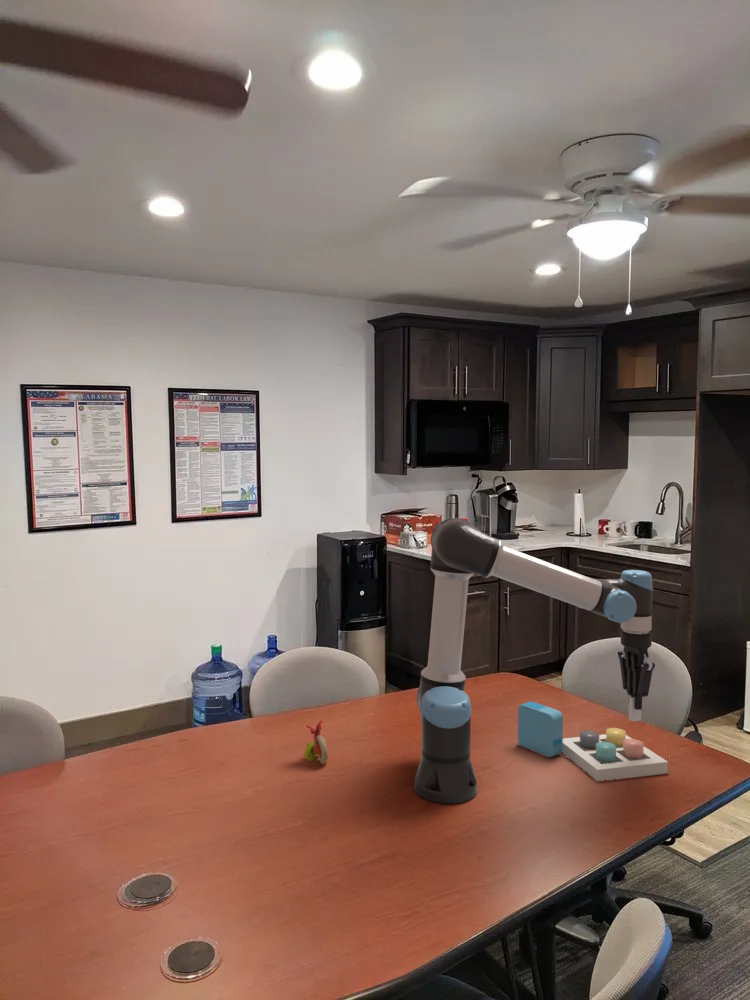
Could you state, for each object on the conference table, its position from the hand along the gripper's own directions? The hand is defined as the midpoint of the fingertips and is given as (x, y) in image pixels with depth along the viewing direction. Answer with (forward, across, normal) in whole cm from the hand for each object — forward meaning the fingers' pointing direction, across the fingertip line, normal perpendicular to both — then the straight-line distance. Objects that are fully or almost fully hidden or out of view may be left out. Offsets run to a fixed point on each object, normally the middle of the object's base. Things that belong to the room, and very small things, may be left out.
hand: (634, 720), depth 184 cm
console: (+12, +4, +4) cm, 13 cm away
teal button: (+9, 0, +8) cm, 12 cm away
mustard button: (+9, +8, 0) cm, 12 cm away
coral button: (+9, 0, 0) cm, 9 cm away
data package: (+12, +15, +19) cm, 27 cm away
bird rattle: (+12, +22, +79) cm, 83 cm away
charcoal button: (+9, +8, +8) cm, 15 cm away
